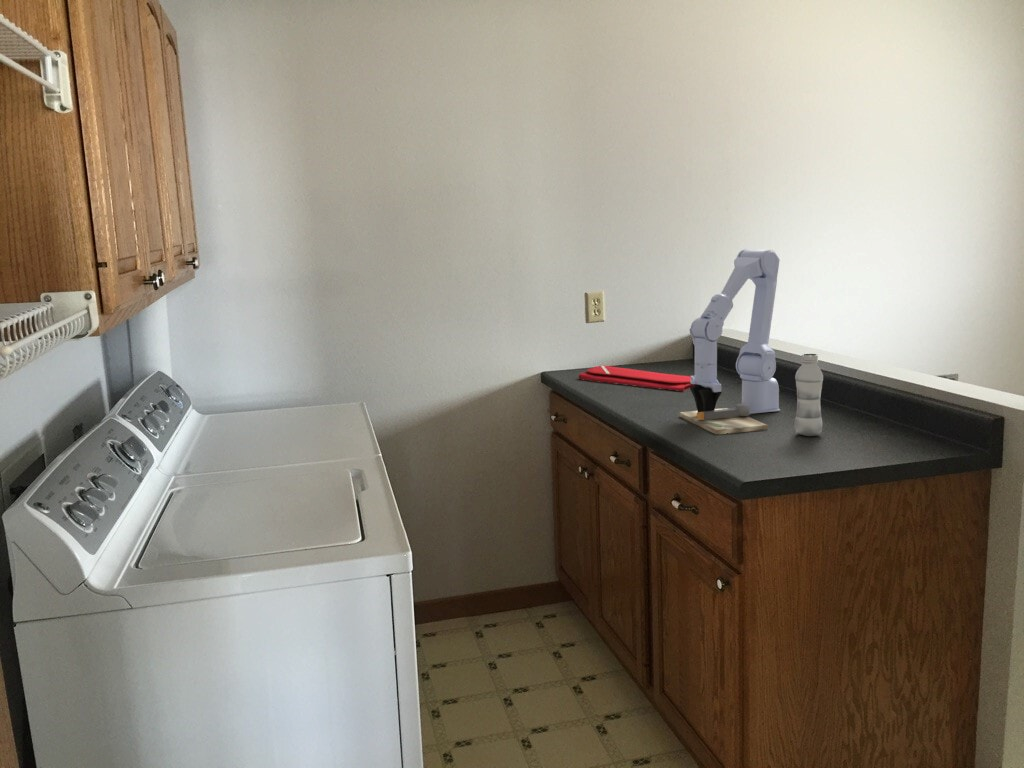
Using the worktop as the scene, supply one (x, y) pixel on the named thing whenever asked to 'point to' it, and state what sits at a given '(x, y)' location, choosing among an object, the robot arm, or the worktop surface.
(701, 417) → the grey bar
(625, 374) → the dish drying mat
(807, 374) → the plastic bottle
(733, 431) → the light wood flat board
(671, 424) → the worktop surface
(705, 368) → the robot arm
